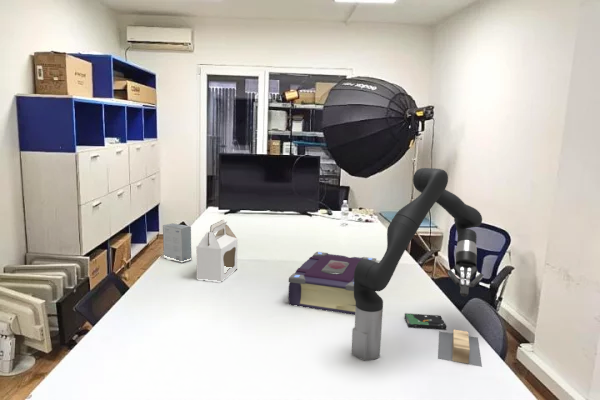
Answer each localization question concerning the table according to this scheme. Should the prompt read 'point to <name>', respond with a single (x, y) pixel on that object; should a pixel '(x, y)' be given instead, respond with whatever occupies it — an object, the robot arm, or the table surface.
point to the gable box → (217, 253)
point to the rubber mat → (446, 349)
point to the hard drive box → (177, 241)
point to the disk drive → (425, 321)
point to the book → (325, 283)
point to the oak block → (460, 346)
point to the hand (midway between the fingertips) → (464, 295)
